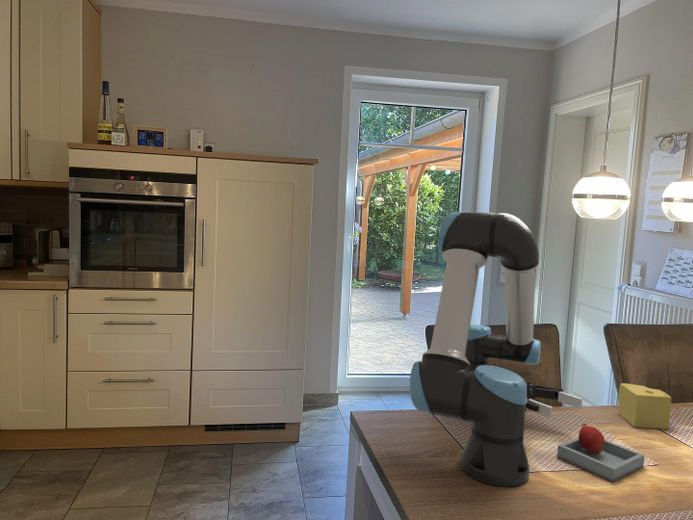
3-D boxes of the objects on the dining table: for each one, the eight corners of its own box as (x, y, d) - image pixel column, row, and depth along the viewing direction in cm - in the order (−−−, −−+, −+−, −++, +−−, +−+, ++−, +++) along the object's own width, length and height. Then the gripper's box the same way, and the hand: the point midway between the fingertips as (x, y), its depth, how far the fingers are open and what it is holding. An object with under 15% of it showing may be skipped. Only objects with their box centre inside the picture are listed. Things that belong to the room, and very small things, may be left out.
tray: (613, 482, 115) (614, 469, 114) (557, 456, 126) (557, 445, 126) (643, 467, 122) (644, 455, 122) (587, 444, 134) (588, 433, 134)
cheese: (651, 416, 156) (654, 384, 155) (670, 431, 146) (674, 397, 145) (616, 414, 157) (619, 382, 156) (633, 428, 146) (636, 394, 146)
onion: (588, 452, 123) (572, 422, 129) (587, 461, 127) (571, 432, 133) (612, 445, 122) (594, 415, 128) (609, 454, 126) (592, 425, 132)
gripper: (525, 390, 157) (591, 413, 139) (470, 403, 142) (536, 431, 125) (527, 367, 156) (593, 387, 139) (472, 377, 142) (538, 401, 125)
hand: (566, 408), depth 132 cm, fingers open, 13 cm apart
